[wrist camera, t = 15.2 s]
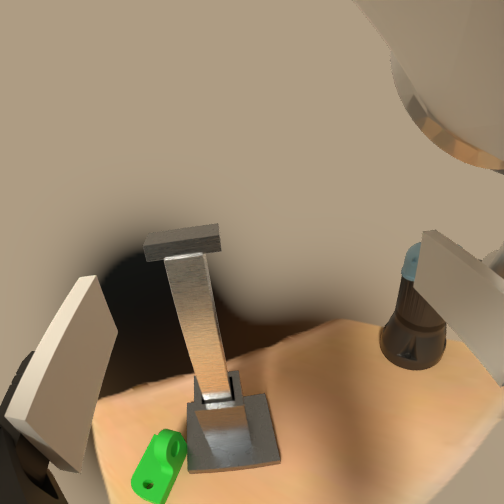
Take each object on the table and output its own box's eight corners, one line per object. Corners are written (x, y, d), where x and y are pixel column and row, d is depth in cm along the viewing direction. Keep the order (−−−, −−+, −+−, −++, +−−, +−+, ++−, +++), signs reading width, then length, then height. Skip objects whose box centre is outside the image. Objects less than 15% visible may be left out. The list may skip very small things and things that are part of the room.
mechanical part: (158, 439, 43) (142, 415, 39) (189, 448, 41) (176, 425, 38) (130, 494, 33) (107, 475, 29) (163, 507, 31) (144, 491, 28)
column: (245, 397, 42) (217, 222, 30) (248, 416, 39) (219, 236, 27) (199, 403, 42) (149, 232, 29) (199, 422, 38) (142, 247, 26)
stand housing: (265, 398, 51) (260, 342, 44) (280, 463, 38) (278, 419, 32) (188, 407, 49) (168, 354, 43) (190, 473, 37) (162, 431, 31)
